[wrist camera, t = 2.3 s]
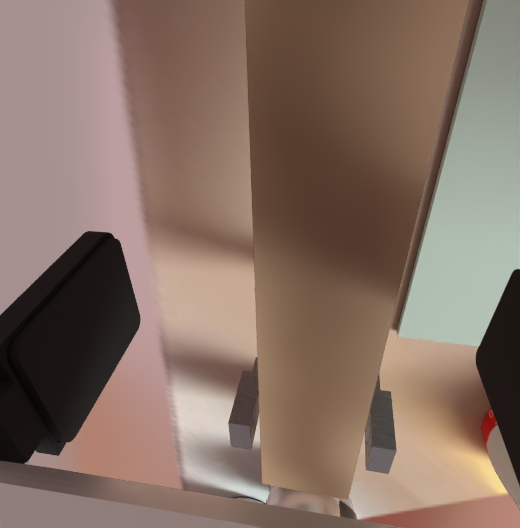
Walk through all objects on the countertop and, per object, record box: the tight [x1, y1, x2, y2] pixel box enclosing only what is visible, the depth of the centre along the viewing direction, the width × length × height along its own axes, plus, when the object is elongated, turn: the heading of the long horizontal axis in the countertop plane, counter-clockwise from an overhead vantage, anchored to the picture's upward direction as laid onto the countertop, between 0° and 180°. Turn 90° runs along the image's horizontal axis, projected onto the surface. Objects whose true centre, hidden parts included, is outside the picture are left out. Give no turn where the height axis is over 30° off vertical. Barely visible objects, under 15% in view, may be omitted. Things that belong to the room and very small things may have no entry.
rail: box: [245, 0, 470, 500], centre depth 12 cm, size 4×26×4 cm, turn 1°
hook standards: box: [228, 357, 396, 474], centre depth 17 cm, size 7×28×14 cm, turn 1°
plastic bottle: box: [267, 485, 340, 517], centre depth 29 cm, size 6×7×20 cm
